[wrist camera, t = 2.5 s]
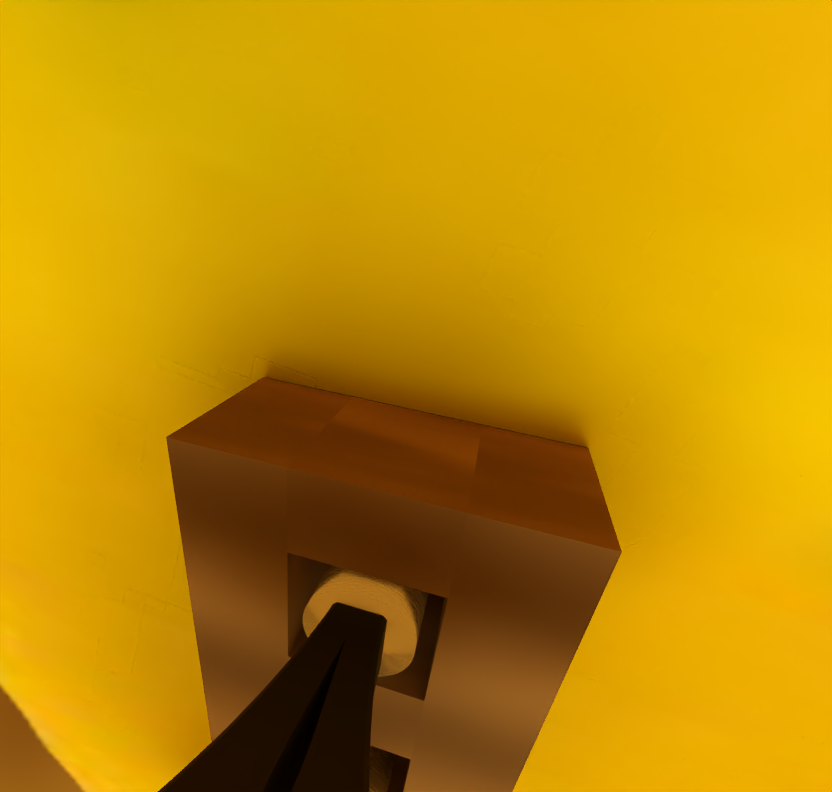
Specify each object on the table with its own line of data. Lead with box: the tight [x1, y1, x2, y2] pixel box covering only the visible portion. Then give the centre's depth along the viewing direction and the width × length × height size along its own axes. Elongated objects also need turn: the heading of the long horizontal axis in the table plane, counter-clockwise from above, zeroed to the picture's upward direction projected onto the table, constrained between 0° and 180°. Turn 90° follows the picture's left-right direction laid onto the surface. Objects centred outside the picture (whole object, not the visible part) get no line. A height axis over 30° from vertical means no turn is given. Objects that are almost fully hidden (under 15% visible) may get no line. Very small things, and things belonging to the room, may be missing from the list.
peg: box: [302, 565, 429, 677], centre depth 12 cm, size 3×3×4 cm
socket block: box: [166, 377, 621, 792], centre depth 14 cm, size 16×10×4 cm, turn 172°
